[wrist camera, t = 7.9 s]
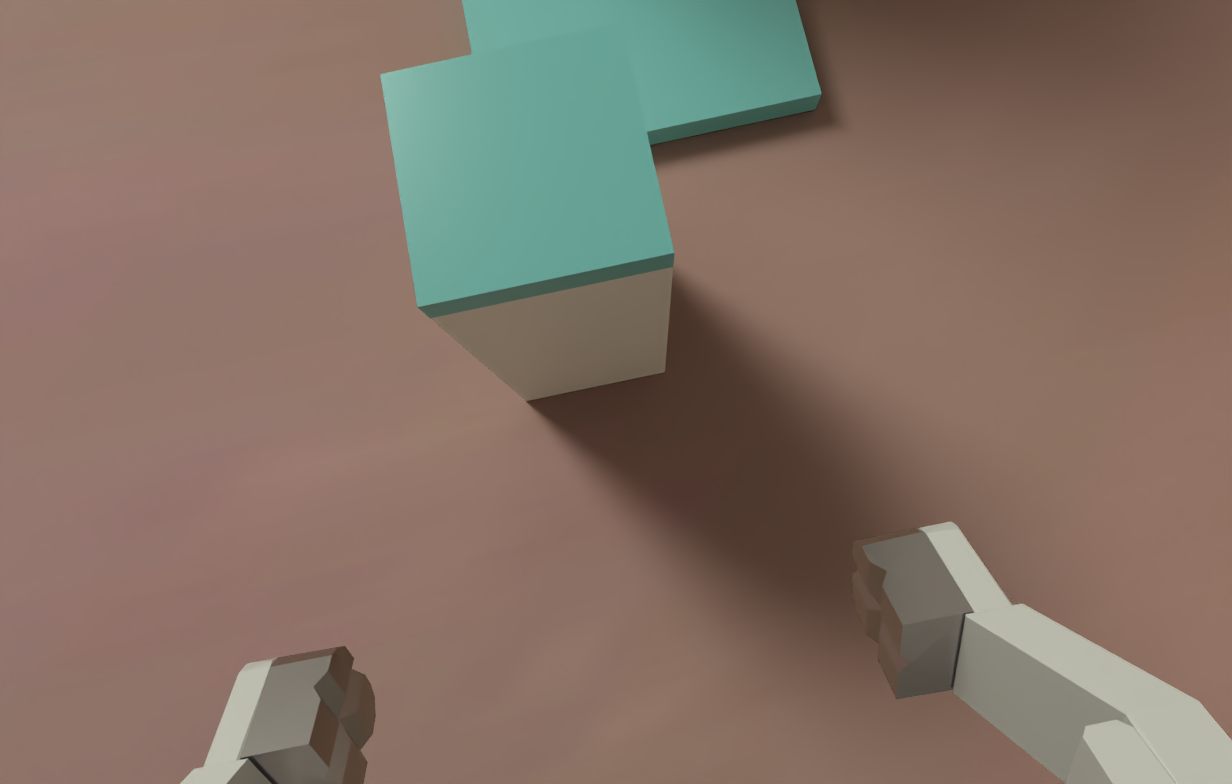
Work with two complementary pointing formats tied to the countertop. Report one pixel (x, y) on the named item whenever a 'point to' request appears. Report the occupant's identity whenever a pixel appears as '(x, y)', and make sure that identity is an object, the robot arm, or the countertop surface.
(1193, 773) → the robot arm
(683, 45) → the pad
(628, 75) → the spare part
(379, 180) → the countertop surface
